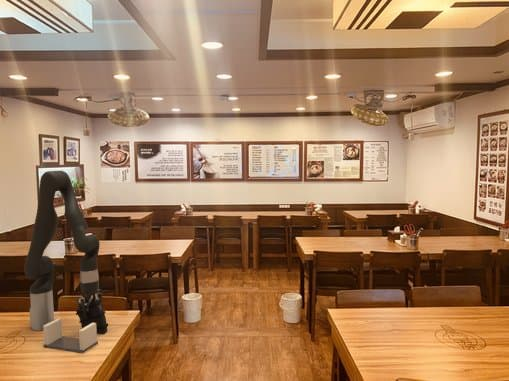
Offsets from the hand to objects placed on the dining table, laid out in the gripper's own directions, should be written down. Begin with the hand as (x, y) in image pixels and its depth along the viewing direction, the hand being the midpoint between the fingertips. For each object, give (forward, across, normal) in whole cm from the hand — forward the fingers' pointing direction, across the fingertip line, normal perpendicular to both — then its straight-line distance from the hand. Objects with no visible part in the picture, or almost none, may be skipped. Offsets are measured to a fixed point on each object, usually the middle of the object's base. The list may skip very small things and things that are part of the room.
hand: (91, 316), depth 176 cm
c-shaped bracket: (+7, +13, 0) cm, 15 cm away
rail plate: (+7, +13, 0) cm, 15 cm away
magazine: (+8, 0, 0) cm, 8 cm away
